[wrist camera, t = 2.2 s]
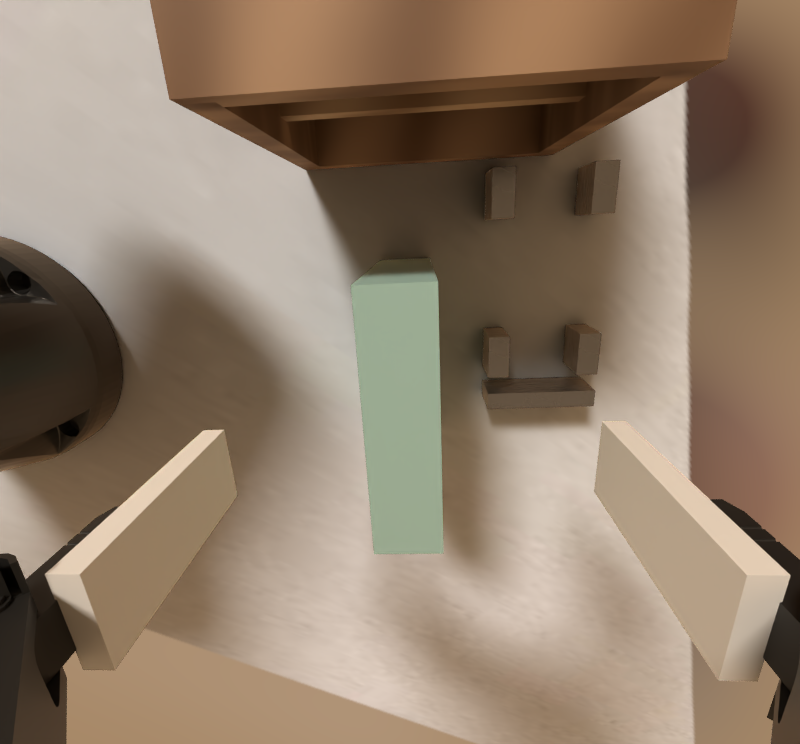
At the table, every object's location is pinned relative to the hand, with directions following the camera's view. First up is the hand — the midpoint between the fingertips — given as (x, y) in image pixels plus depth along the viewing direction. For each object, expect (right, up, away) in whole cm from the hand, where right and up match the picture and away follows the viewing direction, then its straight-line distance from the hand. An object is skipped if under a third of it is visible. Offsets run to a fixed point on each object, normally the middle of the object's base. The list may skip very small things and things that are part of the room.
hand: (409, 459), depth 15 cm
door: (0, +5, +13) cm, 14 cm away
